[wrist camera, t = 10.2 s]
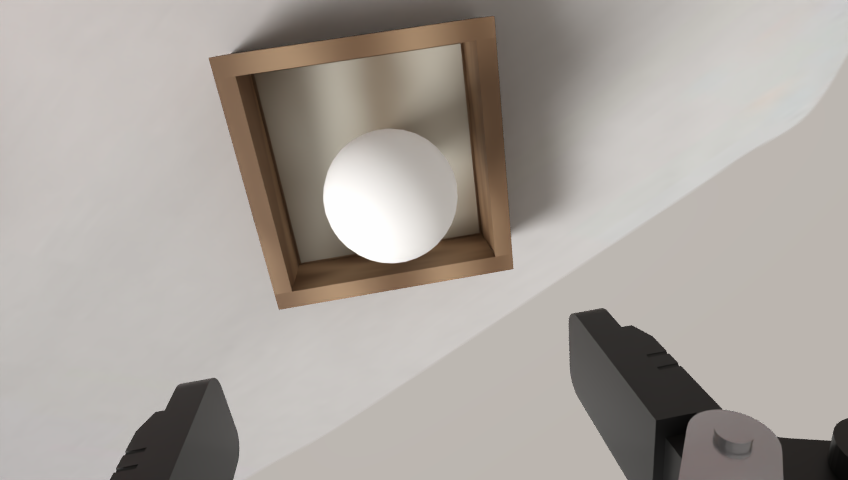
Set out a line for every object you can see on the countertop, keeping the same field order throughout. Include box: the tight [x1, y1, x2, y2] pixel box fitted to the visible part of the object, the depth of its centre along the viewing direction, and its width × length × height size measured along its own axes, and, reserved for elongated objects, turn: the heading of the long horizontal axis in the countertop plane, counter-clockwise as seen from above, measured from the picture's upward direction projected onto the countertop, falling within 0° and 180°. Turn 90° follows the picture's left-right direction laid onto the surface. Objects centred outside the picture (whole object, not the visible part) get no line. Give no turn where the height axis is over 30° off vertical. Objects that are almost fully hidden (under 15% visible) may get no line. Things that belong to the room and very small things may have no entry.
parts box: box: [209, 16, 513, 310], centre depth 30 cm, size 14×14×4 cm
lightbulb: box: [323, 129, 458, 263], centre depth 26 cm, size 6×6×11 cm
